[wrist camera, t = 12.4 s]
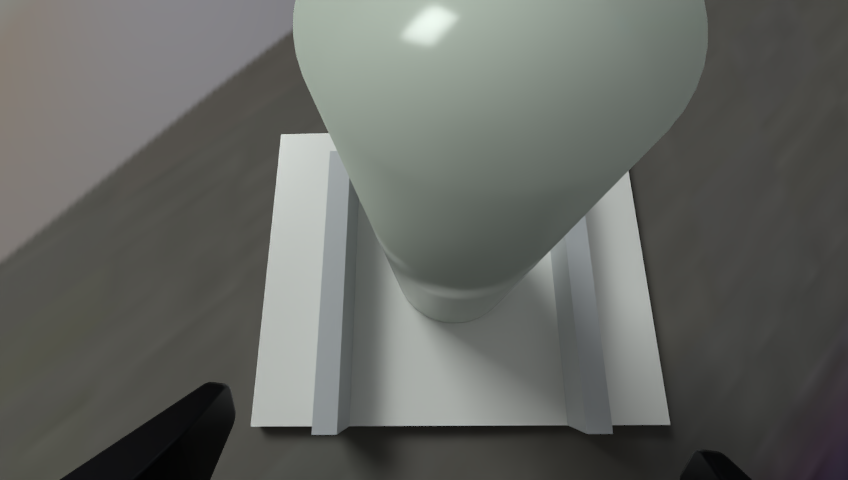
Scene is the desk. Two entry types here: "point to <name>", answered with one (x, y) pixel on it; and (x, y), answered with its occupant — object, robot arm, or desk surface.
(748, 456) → the desk surface
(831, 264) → the desk surface
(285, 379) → the white railed tray
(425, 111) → the domed peg
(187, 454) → the robot arm
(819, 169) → the desk surface
